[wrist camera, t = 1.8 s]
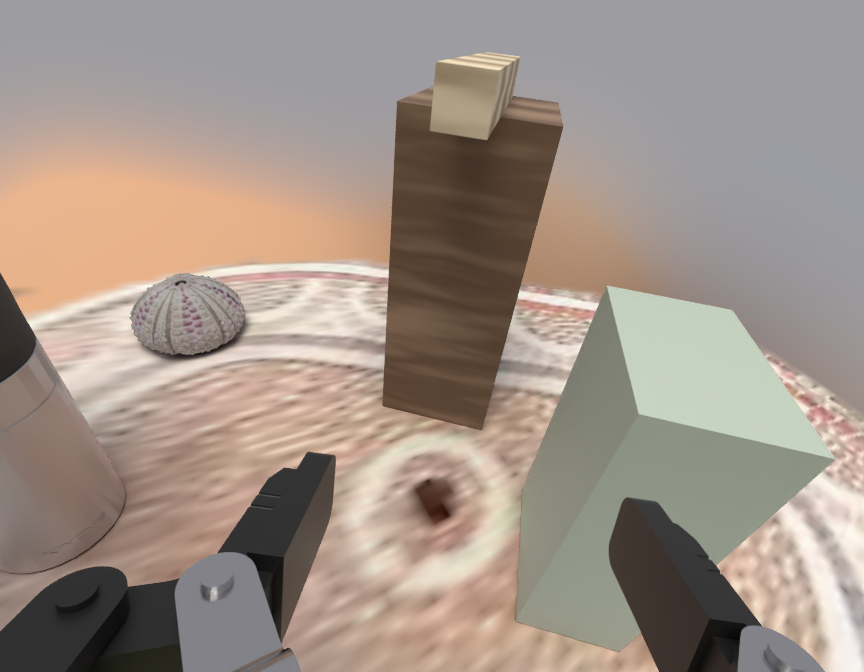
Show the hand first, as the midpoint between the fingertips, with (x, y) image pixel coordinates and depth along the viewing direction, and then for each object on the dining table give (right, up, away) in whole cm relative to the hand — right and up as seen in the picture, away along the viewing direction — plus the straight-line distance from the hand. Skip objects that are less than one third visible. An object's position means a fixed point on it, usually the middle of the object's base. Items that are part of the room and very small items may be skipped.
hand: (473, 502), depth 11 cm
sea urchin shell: (-33, +5, +45) cm, 56 cm away
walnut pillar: (0, -1, +43) cm, 43 cm away
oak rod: (+3, +22, +20) cm, 30 cm away
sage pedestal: (+11, -15, +25) cm, 32 cm away
